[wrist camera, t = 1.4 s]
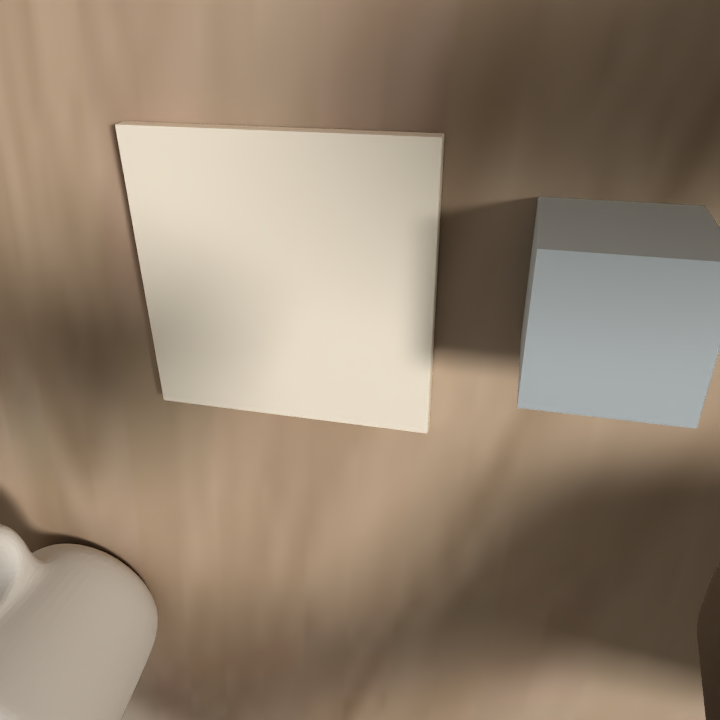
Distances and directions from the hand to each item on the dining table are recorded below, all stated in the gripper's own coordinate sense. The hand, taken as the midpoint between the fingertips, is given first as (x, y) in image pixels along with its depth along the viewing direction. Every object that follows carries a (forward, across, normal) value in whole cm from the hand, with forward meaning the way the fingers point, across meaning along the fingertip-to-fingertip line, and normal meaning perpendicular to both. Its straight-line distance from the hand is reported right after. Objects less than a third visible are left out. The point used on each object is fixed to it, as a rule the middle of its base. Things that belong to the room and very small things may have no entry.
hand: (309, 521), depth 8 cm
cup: (+12, +14, +17) cm, 25 cm away
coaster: (+12, +4, +2) cm, 13 cm away
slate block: (+12, -5, +1) cm, 13 cm away
